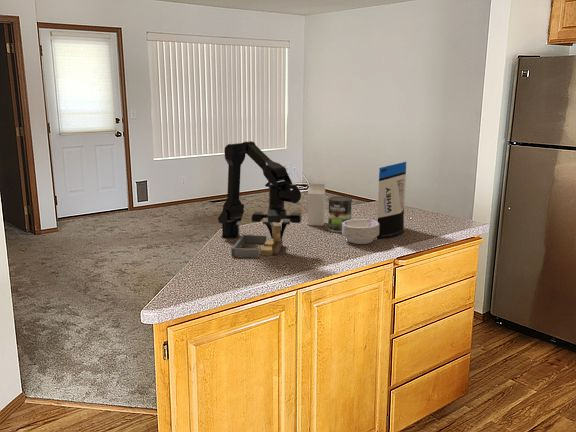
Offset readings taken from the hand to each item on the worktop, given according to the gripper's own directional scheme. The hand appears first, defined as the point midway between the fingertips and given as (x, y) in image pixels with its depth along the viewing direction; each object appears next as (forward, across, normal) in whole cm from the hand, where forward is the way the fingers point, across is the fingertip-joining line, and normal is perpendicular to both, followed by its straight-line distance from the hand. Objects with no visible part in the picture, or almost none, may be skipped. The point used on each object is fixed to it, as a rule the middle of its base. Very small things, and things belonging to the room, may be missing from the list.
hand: (276, 238), depth 206 cm
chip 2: (+5, -3, -4) cm, 7 cm away
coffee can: (+5, +23, +34) cm, 41 cm away
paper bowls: (+5, +32, +16) cm, 36 cm away
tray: (+5, -11, 0) cm, 12 cm away
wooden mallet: (+4, 0, 0) cm, 4 cm away
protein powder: (+5, +46, +30) cm, 54 cm away
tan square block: (+5, -3, +4) cm, 7 cm away
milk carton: (+5, +12, +43) cm, 45 cm away
